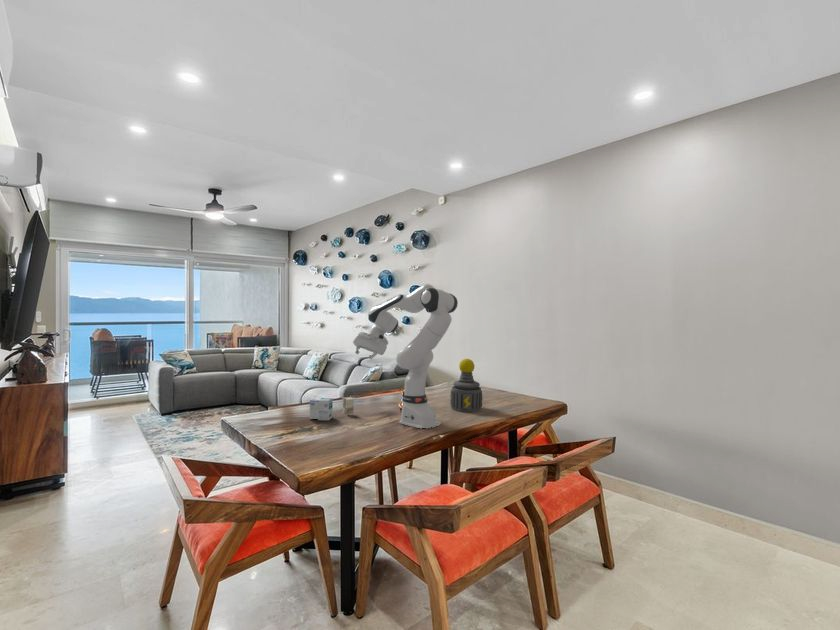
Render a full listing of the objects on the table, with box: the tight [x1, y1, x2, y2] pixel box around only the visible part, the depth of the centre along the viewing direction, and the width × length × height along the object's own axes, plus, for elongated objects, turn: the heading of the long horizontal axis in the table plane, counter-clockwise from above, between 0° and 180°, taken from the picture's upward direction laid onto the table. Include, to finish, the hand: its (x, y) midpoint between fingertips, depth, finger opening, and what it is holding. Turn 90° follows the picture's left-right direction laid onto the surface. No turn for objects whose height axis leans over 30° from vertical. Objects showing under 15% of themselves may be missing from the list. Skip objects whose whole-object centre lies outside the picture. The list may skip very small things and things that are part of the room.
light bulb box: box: [309, 397, 334, 421], centre depth 224 cm, size 11×7×11 cm, turn 84°
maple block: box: [342, 396, 355, 416], centre depth 234 cm, size 5×4×9 cm
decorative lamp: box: [449, 358, 484, 413], centre depth 251 cm, size 19×19×30 cm
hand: (363, 356), depth 239 cm, fingers open, 8 cm apart
